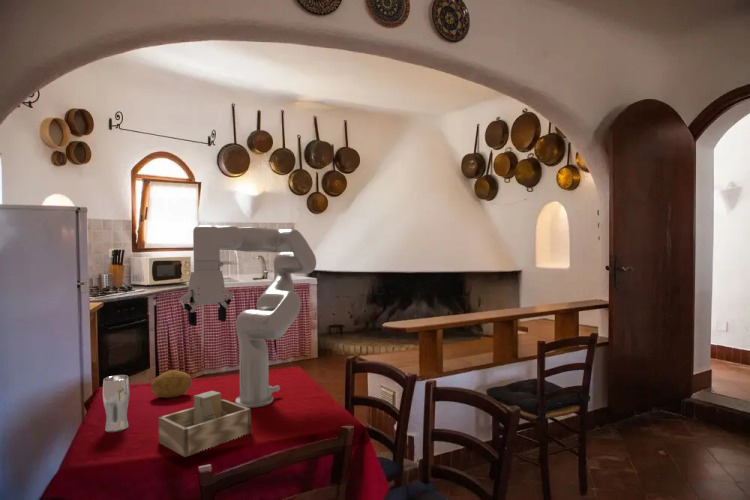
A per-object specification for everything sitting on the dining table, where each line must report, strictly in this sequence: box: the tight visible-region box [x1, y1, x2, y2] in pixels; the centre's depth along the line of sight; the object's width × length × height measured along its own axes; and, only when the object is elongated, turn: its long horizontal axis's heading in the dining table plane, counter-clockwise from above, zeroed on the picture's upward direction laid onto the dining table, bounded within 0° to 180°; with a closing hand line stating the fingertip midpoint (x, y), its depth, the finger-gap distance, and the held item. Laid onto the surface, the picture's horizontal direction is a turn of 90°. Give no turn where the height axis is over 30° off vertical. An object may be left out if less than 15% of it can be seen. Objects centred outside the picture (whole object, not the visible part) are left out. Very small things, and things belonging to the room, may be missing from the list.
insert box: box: [158, 398, 252, 458], centre depth 136 cm, size 20×14×7 cm
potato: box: [150, 369, 193, 399], centre depth 173 cm, size 10×13×9 cm
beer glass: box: [102, 374, 130, 433], centre depth 144 cm, size 7×7×15 cm
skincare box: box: [193, 390, 222, 425], centre depth 137 cm, size 6×4×12 cm
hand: (207, 323), depth 148 cm, fingers open, 9 cm apart
